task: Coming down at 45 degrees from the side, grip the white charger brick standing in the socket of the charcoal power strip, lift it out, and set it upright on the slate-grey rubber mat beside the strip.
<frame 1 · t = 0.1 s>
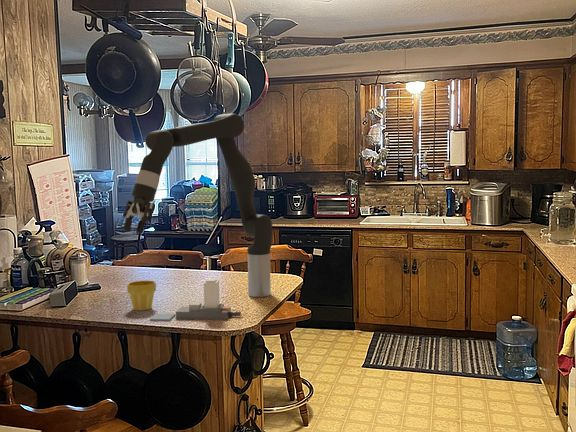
hand: (132, 231, 191), 31 cm above the counter, tool tilted 20°, fingers open, 8 cm apart
power strip: (203, 316, 201), on the counter
charger: (212, 309, 200), point 2 cm above the counter, touching power strip
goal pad: (162, 318, 199), on the counter
plant pot: (142, 309, 213), on the counter
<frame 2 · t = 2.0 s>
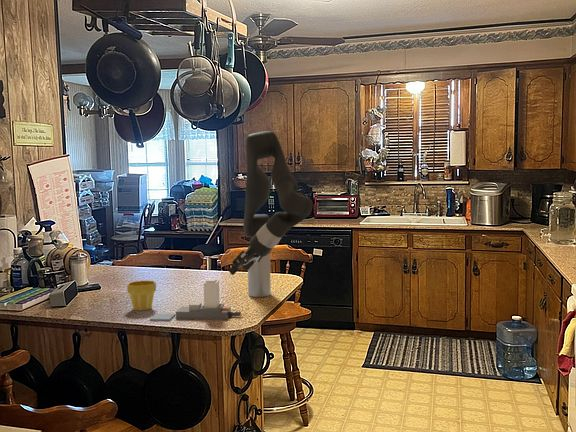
hand: (238, 270, 194), 17 cm above the counter, tool tilted 45°, fingers open, 8 cm apart
nothing on the counter moved.
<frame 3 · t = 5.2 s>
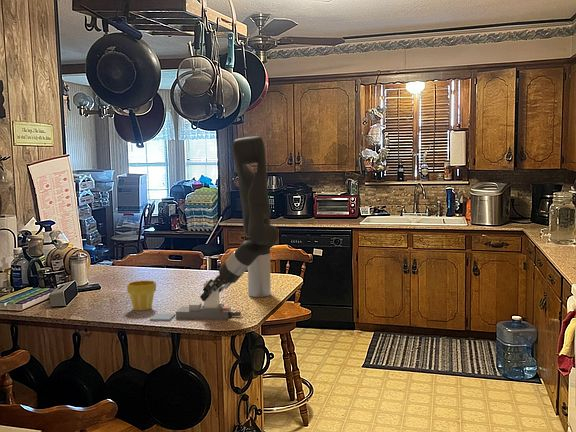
hand: (207, 297, 201), 7 cm above the counter, tool tilted 45°, fingers closed on charger, 6 cm apart
charger: (212, 309, 200), point 3 cm above the counter, touching gripper, power strip
everything else where it was.
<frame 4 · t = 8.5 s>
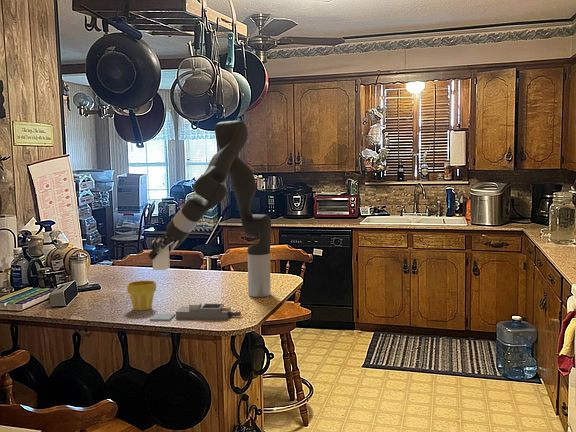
hand: (157, 256, 198), 22 cm above the counter, tool tilted 45°, fingers closed on charger, 6 cm apart
charger: (161, 268, 198), point 18 cm above the counter, touching gripper
everything else where it was.
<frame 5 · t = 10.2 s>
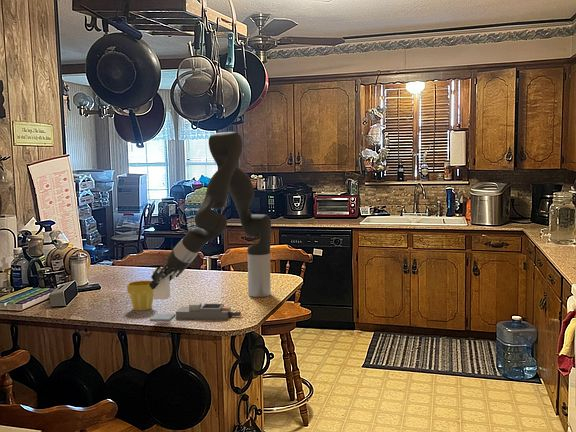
hand: (157, 285, 199), 12 cm above the counter, tool tilted 45°, fingers closed on charger, 6 cm apart
charger: (162, 297, 198), point 7 cm above the counter, touching gripper
everything else where it was.
when the fingers open (7 cm above the counter, at t = 11.7 s): charger drops 2 cm, resting on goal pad.
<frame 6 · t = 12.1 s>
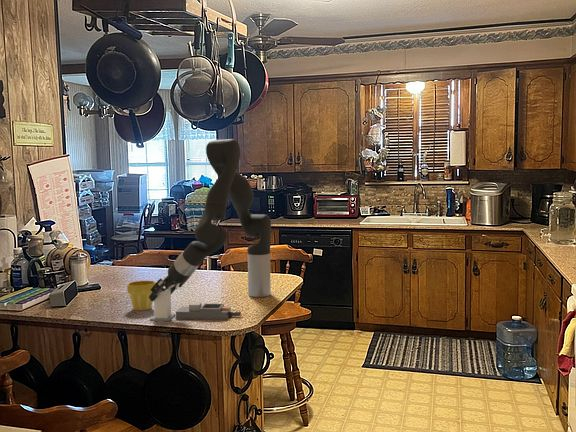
hand: (159, 296, 199), 7 cm above the counter, tool tilted 45°, fingers open, 8 cm apart
charger: (163, 316, 199), point 1 cm above the counter, touching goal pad
everything else where it was.
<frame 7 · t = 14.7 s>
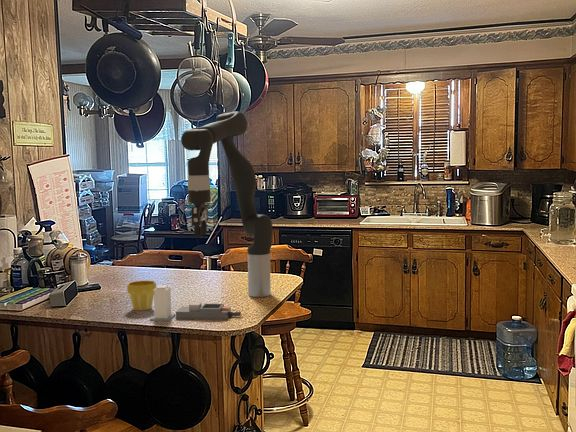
hand: (200, 236, 194), 29 cm above the counter, tool pointing down, fingers open, 8 cm apart
nothing on the counter moved.
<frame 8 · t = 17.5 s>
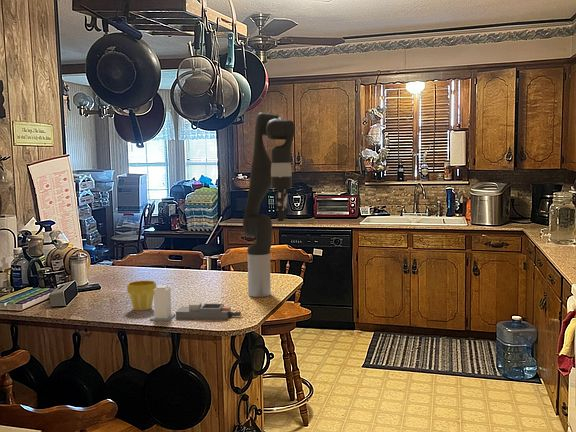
hand: (281, 219, 207), 33 cm above the counter, tool pointing down, fingers open, 8 cm apart
nothing on the counter moved.
at the end: charger inside the target area on the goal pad (0.1 cm from its centre), point 0.6 cm above the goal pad's base; charger tilted 0°; charger touching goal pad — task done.
